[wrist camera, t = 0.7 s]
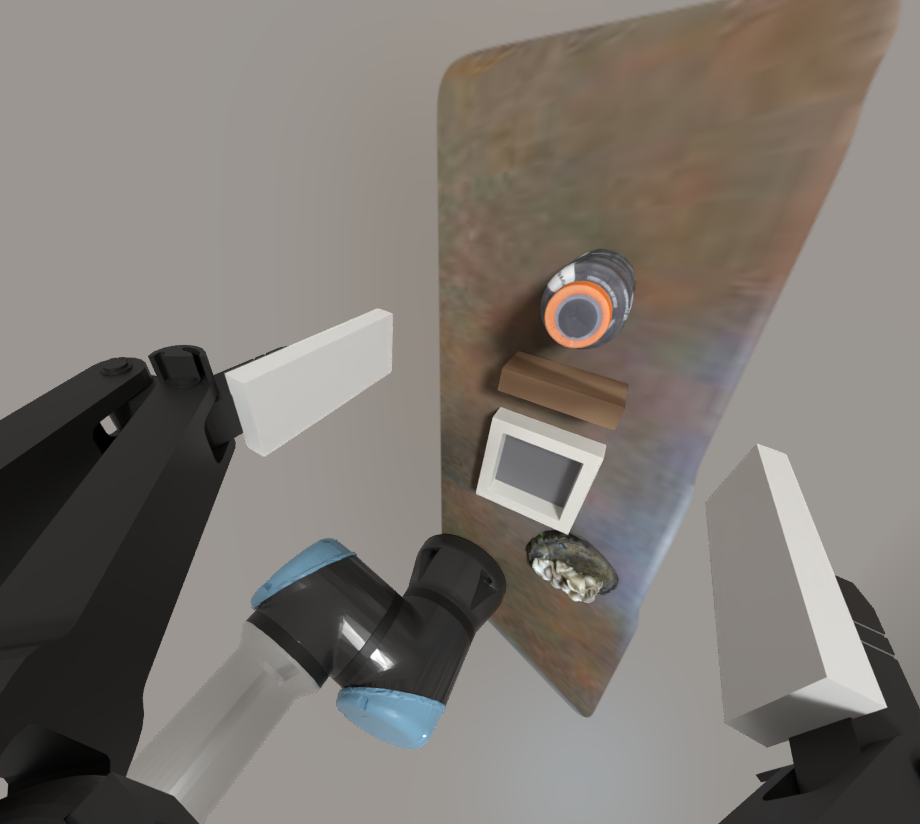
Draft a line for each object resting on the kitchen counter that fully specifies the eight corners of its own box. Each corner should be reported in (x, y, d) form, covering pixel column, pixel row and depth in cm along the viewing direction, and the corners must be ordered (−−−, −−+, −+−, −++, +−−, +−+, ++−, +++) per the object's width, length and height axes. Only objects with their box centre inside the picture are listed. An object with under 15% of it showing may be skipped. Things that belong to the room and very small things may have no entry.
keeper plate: (571, 520, 44) (567, 534, 42) (483, 481, 47) (475, 493, 45) (606, 445, 37) (603, 458, 35) (500, 407, 41) (492, 417, 39)
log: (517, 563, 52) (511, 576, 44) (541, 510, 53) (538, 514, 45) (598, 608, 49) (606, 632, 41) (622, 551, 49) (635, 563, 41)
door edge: (618, 405, 35) (614, 430, 31) (513, 371, 38) (497, 390, 34) (628, 384, 33) (624, 407, 29) (518, 350, 37) (502, 367, 33)
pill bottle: (555, 264, 31) (516, 286, 23) (627, 236, 28) (615, 249, 19) (573, 328, 33) (543, 372, 24) (642, 308, 30) (638, 350, 21)
